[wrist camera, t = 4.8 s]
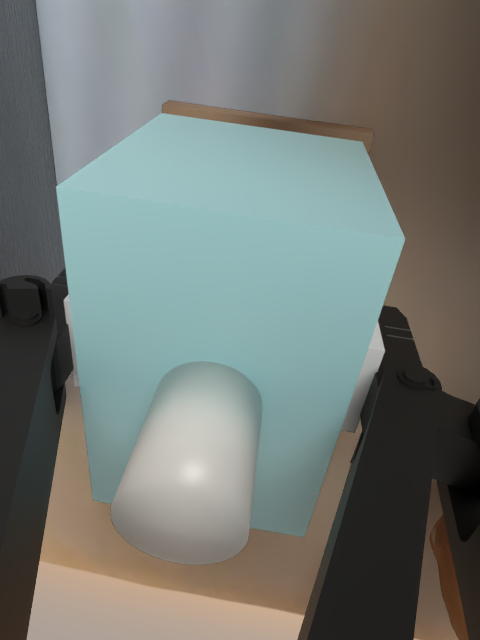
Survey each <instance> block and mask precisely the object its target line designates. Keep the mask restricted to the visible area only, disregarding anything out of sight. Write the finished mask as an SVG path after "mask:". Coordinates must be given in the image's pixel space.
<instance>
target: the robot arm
mask: <svg viewBox="0 0 480 640" xmlns="http://www.w3.org/2000/svg"><path fill="white" fill-rule="evenodd" d="M72 371H73V379H74V386H76V387H80V386H79V378H78V369H77V361H76V352H75V344H74V335H73V327H72V318H71V310H70V301H69V293H68V284H67V276H66V267H65V268H64V270H63V271H62V272H61V273H60V274H59V275H58V277H56V278H55V279H54V280H53V281H52V283H50V282H49V281H47V280H46V279H45V278H42V277H39V276H33V275H19V276H13V277H9V278H5V279H3V280H1V281H0V640H26V639H27V632H28V626H29V620H30V614H31V608H32V602H33V595H34V589H35V584H36V577H37V571H38V565H39V559H40V553H41V547H42V541H43V535H44V529H45V523H46V517H47V510H48V504H49V498H50V492H51V486H52V480H53V474H54V468H55V462H56V456H57V449H58V443H59V437H60V431H61V425H62V419H63V413H64V407H65V401H66V389H65V381H66V380H67V378H68V376H69V375H70V373H71V372H72ZM360 418H361V425H362V433H361V436H360V438H359V441H358V444H357V446H356V449H355V452H354V454H353V457H352V460H351V462H350V463H351V467H350V470H349V473H348V476H347V480H346V483H345V486H344V489H343V493H342V496H341V499H340V502H339V506H338V509H337V512H336V516H335V519H334V522H333V525H332V529H331V532H330V535H329V538H328V542H327V545H326V548H325V551H324V555H323V558H322V561H321V565H320V568H319V571H318V574H317V578H316V581H315V584H314V587H313V591H312V594H311V597H310V600H309V604H308V607H307V610H306V613H305V617H304V620H303V623H302V627H301V630H300V633H299V637H298V640H413V638H414V629H415V620H416V611H417V603H418V594H419V585H420V576H421V568H422V559H423V550H424V542H425V533H426V524H427V515H428V507H429V498H430V489H431V480H432V478H434V479H436V480H437V485H438V490H439V495H440V500H441V505H442V509H443V514H444V519H445V524H446V529H447V534H448V539H449V544H450V549H451V554H452V559H453V563H454V568H455V573H456V578H457V583H458V588H459V593H460V598H461V603H462V608H463V612H464V617H465V622H466V627H467V632H468V637H469V640H480V399H479V400H478V402H477V403H476V405H474V404H472V403H469V402H466V401H464V400H461V399H458V398H456V397H453V396H451V395H449V394H447V393H445V392H443V391H442V388H441V383H440V381H439V380H438V378H437V377H436V376H435V375H434V374H433V373H431V372H430V371H429V370H427V369H426V368H424V367H422V364H421V361H420V358H419V355H418V352H417V349H416V346H415V342H414V340H413V336H412V333H411V331H410V327H409V324H408V321H407V318H406V317H405V316H404V315H403V314H402V313H401V312H400V311H399V310H398V309H397V308H395V307H389V306H383V307H382V310H381V313H380V315H379V318H378V321H377V324H376V327H375V330H374V333H373V336H372V339H371V342H370V345H369V348H368V351H367V354H366V357H365V360H364V363H363V366H362V369H361V372H360V374H359V377H358V380H357V383H356V386H355V389H354V392H353V395H352V398H351V401H350V404H349V407H348V410H347V413H346V416H345V419H344V422H343V425H342V428H341V430H342V431H348V432H354V433H355V432H356V429H357V426H358V424H359V421H360Z"/></svg>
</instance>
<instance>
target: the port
mask: <svg viewBox="0 0 480 640" xmlns="http://www.w3.org/2000/svg"><path fill="white" fill-rule="evenodd" d="M56 186H57V185H56V177H55V168H54V159H53V151H52V142H51V134H50V125H49V117H48V108H47V99H46V91H45V82H44V74H43V65H42V57H41V48H40V39H39V31H38V22H37V14H36V5H35V0H0V281H1V280H3V279H5V278H9V277H13V276H19V275H33V276H39V277H42V278H45V279H46V280H47V281H49V282H50V283H52V281H53V280H54V279H55V278H56V277H58V275H59V274H60V273H61V272H62V271H63V270H64V268H65V259H64V250H63V242H62V233H61V225H60V216H59V208H58V199H57V191H56Z"/></svg>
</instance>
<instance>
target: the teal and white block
mask: <svg viewBox="0 0 480 640" xmlns="http://www.w3.org/2000/svg"><path fill="white" fill-rule="evenodd" d="M56 191H57V199H58V208H59V216H60V225H61V233H62V242H63V250H64V259H65V267H66V276H67V284H68V293H69V301H70V310H71V318H72V327H73V335H74V344H75V352H76V361H77V369H78V378H79V386H80V395H81V403H82V412H83V420H84V429H85V437H86V446H87V454H88V463H89V471H90V480H91V488H92V497H93V501H98V502H104V503H110V504H112V505H111V509H110V516H111V520H112V523H113V525H114V527H115V529H116V530H117V531H118V533H119V534H120V535H121V536H122V537H123V538H124V539H125V540H126V541H127V542H128V543H130V544H131V545H132V546H134V547H136V548H137V549H139V550H141V551H142V552H144V553H146V554H149V555H151V556H153V557H156V558H159V559H162V560H165V561H169V562H174V563H179V564H187V565H207V564H214V563H219V562H222V561H225V560H228V559H230V558H232V557H234V556H236V555H237V554H238V553H240V552H241V551H242V550H243V549H244V547H245V546H246V544H247V541H248V538H249V529H250V528H253V529H259V530H265V531H271V532H276V533H282V534H288V535H293V536H299V537H305V534H306V531H307V528H308V525H309V522H310V519H311V516H312V513H313V510H314V507H315V504H316V501H317V498H318V495H319V493H320V490H321V487H322V484H323V481H324V478H325V475H326V472H327V469H328V466H329V463H330V460H331V457H332V454H333V451H334V448H335V445H336V442H337V439H338V436H339V433H340V431H341V428H342V425H343V422H344V419H345V416H346V413H347V410H348V407H349V404H350V401H351V398H352V395H353V392H354V389H355V386H356V383H357V380H358V377H359V374H360V372H361V369H362V366H363V363H364V360H365V357H366V354H367V351H368V348H369V345H370V342H371V339H372V336H373V333H374V330H375V327H376V324H377V321H378V318H379V315H380V313H381V310H382V307H383V304H384V301H385V298H386V295H387V292H388V289H389V286H390V283H391V280H392V277H393V274H394V271H395V268H396V265H397V262H398V259H399V256H400V254H401V251H402V248H403V245H404V242H405V237H404V235H403V232H402V230H401V228H400V226H399V223H398V221H397V219H396V217H395V214H394V212H393V210H392V207H391V205H390V203H389V201H388V198H387V196H386V194H385V192H384V189H383V187H382V185H381V183H380V180H379V178H378V176H377V173H376V171H375V169H374V167H373V164H372V162H371V160H370V158H369V155H368V153H367V151H366V149H365V146H364V144H363V142H361V141H354V140H347V139H340V138H333V137H326V136H319V135H312V134H305V133H298V132H291V131H284V130H277V129H270V128H263V127H256V126H249V125H242V124H235V123H228V122H221V121H214V120H207V119H200V118H193V117H186V116H179V115H172V114H165V113H161V114H159V115H158V116H156V117H155V118H153V119H152V120H151V121H149V122H148V123H146V124H145V125H143V126H142V127H141V128H139V129H138V130H136V131H135V132H133V133H132V134H131V135H129V136H128V137H126V138H125V139H123V140H122V141H121V142H119V143H118V144H116V145H115V146H113V147H112V148H111V149H109V150H108V151H106V152H105V153H103V154H102V155H101V156H99V157H98V158H96V159H95V160H93V161H92V162H91V163H89V164H88V165H86V166H85V167H83V168H82V169H81V170H79V171H78V172H76V173H75V174H73V175H72V176H71V177H69V178H68V179H66V180H65V181H63V182H62V183H61V184H59V185H58V186H56Z"/></svg>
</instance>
